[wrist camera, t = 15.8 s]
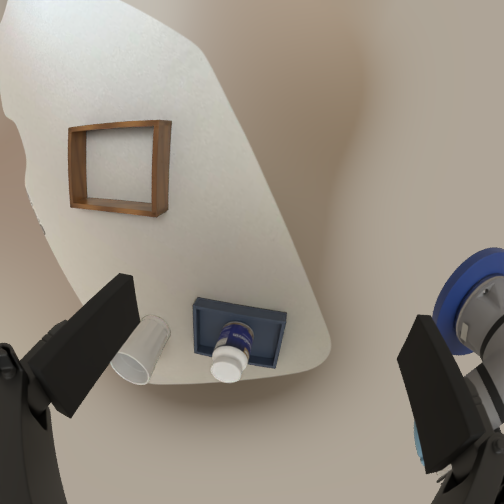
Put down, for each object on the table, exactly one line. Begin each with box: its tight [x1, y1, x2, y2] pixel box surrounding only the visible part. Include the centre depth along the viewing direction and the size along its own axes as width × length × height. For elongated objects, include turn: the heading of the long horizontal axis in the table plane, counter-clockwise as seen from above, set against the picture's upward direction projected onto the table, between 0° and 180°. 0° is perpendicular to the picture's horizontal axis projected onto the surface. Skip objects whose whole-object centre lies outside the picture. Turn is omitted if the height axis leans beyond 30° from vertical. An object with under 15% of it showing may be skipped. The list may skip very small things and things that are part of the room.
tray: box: [193, 297, 287, 369], centre depth 47 cm, size 15×11×3 cm
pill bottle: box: [211, 321, 254, 383], centre depth 43 cm, size 6×6×10 cm
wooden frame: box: [68, 120, 172, 217], centre depth 37 cm, size 18×14×4 cm
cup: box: [110, 315, 170, 385], centre depth 46 cm, size 8×8×12 cm
